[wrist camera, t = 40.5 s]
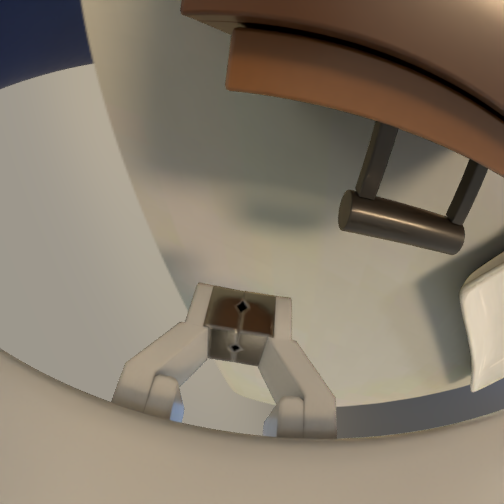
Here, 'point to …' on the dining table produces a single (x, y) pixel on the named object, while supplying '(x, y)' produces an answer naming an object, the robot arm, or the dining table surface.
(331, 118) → the dining table surface
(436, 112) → the drawer
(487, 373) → the square plate
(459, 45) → the cabinet
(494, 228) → the dining table surface
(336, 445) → the robot arm
